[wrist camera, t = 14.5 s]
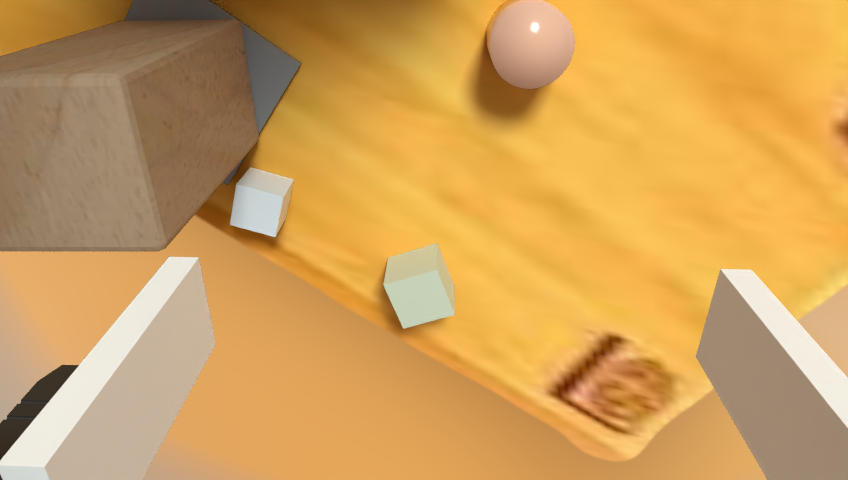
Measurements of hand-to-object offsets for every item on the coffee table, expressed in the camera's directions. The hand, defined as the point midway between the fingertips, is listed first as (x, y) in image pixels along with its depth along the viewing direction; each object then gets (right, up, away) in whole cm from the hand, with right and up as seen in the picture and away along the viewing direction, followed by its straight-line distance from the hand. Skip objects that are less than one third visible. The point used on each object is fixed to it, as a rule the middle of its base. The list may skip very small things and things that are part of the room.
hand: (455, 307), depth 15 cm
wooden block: (-20, +15, +34) cm, 42 cm away
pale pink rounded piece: (+7, +18, +32) cm, 37 cm away
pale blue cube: (-15, +6, +39) cm, 42 cm away
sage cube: (-1, -1, +42) cm, 42 cm away
